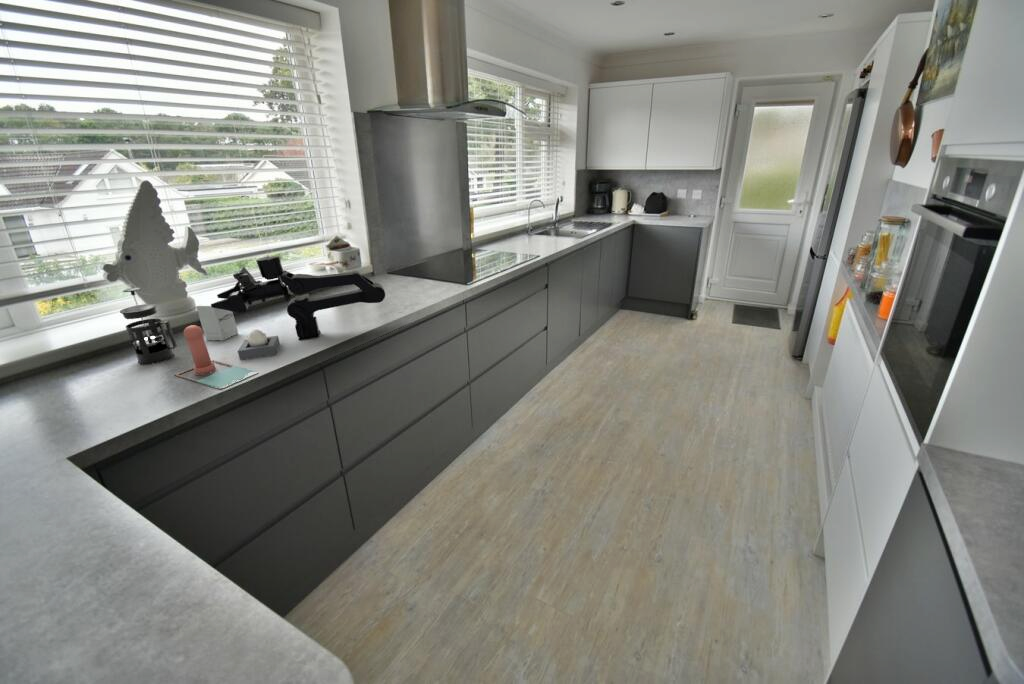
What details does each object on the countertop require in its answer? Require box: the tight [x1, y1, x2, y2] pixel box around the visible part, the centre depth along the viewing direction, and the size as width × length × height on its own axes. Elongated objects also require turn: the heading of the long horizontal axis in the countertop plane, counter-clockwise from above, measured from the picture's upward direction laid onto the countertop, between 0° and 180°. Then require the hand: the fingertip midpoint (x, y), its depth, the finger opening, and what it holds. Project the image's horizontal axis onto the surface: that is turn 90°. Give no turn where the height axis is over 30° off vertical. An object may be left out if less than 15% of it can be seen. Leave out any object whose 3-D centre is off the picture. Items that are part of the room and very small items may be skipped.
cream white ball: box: [247, 329, 268, 347], centre depth 146 cm, size 5×5×5 cm
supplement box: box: [195, 299, 239, 342], centre depth 160 cm, size 7×7×13 cm
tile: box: [196, 365, 256, 388], centre depth 130 cm, size 11×11×1 cm
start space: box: [174, 359, 234, 383], centre depth 135 cm, size 11×11×1 cm
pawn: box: [183, 324, 217, 376], centre depth 132 cm, size 5×5×14 cm
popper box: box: [237, 335, 281, 360], centre depth 147 cm, size 10×10×3 cm
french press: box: [119, 287, 178, 365], centre depth 141 cm, size 12×9×23 cm
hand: (214, 301), depth 146 cm, fingers open, 9 cm apart
